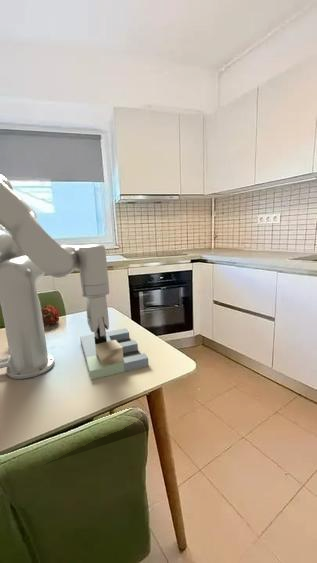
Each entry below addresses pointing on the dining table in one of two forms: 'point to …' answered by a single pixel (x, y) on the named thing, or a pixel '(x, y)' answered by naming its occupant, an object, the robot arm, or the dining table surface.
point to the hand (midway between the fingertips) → (101, 349)
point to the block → (109, 352)
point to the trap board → (130, 363)
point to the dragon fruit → (50, 314)
